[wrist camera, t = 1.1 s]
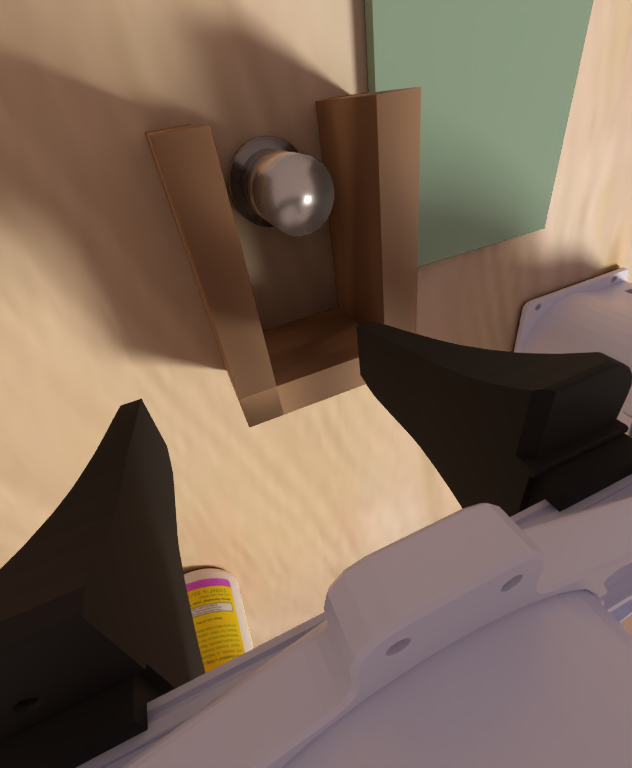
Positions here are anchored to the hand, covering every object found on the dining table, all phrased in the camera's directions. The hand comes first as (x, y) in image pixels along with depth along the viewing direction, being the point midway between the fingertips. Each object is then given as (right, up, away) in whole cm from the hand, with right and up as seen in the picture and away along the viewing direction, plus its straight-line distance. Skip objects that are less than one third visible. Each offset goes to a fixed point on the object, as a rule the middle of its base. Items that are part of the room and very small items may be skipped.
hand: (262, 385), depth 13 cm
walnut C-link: (0, +7, +5) cm, 9 cm away
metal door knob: (0, +9, +4) cm, 10 cm away
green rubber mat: (+9, +13, +6) cm, 17 cm away
